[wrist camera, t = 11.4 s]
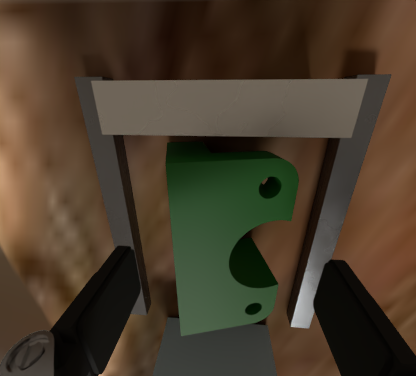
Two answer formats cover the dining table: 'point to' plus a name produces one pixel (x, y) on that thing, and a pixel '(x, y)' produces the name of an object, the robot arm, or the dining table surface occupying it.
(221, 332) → the block
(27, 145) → the dining table surface
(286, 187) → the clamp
